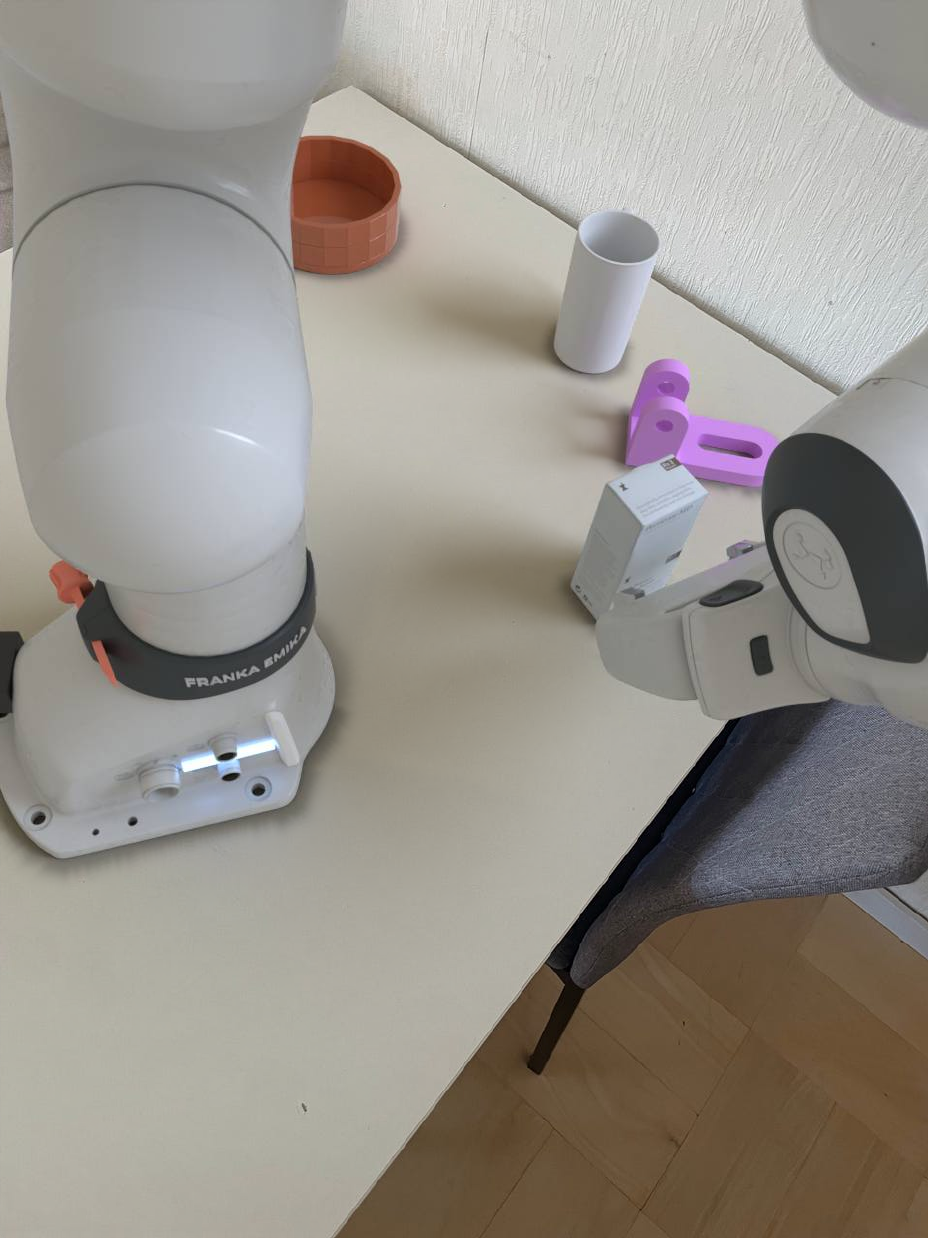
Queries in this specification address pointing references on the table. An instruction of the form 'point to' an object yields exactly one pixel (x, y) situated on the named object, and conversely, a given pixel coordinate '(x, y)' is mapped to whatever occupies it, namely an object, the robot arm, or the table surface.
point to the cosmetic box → (637, 532)
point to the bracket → (691, 431)
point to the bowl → (342, 205)
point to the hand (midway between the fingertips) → (680, 577)
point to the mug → (604, 288)
